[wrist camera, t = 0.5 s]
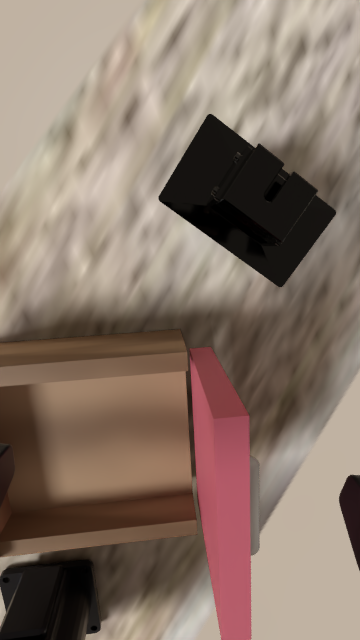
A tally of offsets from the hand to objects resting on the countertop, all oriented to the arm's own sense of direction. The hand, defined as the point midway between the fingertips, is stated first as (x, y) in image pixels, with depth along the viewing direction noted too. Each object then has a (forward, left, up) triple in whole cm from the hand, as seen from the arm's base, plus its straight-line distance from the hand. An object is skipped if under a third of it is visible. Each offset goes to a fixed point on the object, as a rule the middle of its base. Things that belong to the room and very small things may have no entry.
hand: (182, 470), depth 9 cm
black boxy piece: (+8, -5, -13) cm, 16 cm away
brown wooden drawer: (-5, +5, -12) cm, 14 cm away
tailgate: (-5, -1, -10) cm, 11 cm away
